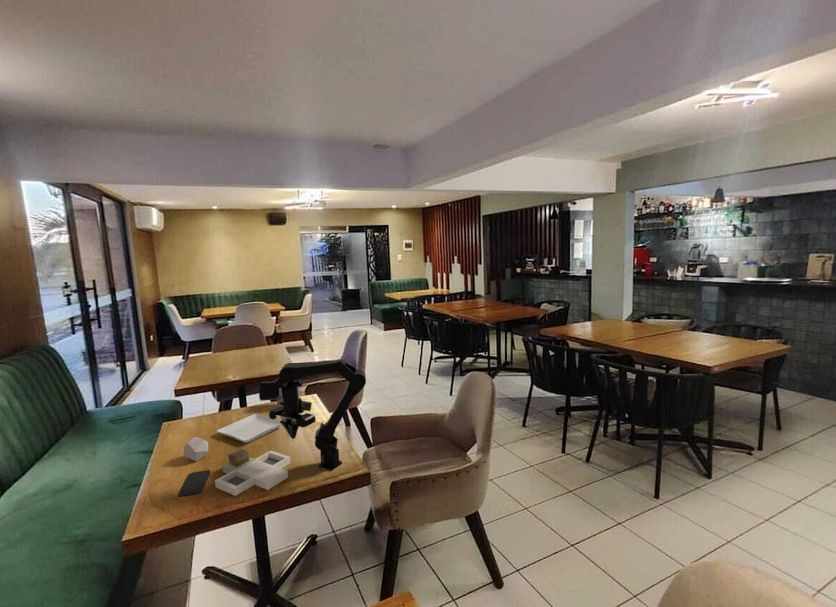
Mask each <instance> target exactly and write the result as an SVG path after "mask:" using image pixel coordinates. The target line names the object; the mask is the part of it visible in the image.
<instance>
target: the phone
mask: <svg viewBox="0 0 836 607" xmlns="http://www.w3.org/2000/svg"><path fill="white" fill-rule="evenodd" d="M210 474H211V470H210V469H206V470H199V471H193V472H190V473H188V475H187V476H186V479H185V480H184V483H183V484H182V486H181V488H180V490H179V492H178V494H177V496H178V497H179V498H182V497H189V496H194V495H199V494H201V493H202V492H203V490H204V488H205V486H206V483H207V480H208V479H209V477H210Z"/></svg>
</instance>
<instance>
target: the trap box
mask: <svg viewBox="0 0 836 607" xmlns="http://www.w3.org/2000/svg"><path fill="white" fill-rule="evenodd" d="M291 463H292V462H291V456H289V455H287V454H286V455H285V454H283V453H279V452H277V451H274V450H269V451H267V452H266V453H264V454H261V455H260V456H258V457H255V458H253V457H250V456H249V461H248V462H246V463H244V464H243V465H241V466H239V467H236V466H234V465H231V464H229V461H228V462H226V463H225V464H222V465H221V466H222V468H221V469H222V473H225V475H223V476H221V477H218V478H217V479H215V480H214V484H215V488H217V489H218V490H220V491H222V492H225V493H227V494H230V495H232V496H234V497H237V496H238V495H240V494H241V493H243V492H244V491H246V490H248V489H250V488H251V487H253V486H257V487H259V488H262V489H264V490H266V491H269V490H270V489H272V488H273V487H276V486H277V485H278V484H280V483H281V482H283V481H284V480H286V479H288V478H289V471H288V470H286V469H284V468H285V467H287V466H288V465H290V464H291Z"/></svg>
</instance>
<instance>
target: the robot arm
mask: <svg viewBox="0 0 836 607" xmlns="http://www.w3.org/2000/svg"><path fill="white" fill-rule="evenodd" d="M334 373H338V374H339V375H341V376H342V377H343V378H344V379H345V381H347V385H346V387H345V390H344V393H343V394H342V396H341V398H340V399H339V401H338V403H337V405H336V407H334V408H335V409H334V410H333V411H332V413H331V415H330V416H329V418H328V420H327V421H326V423H323V422H321V423H320V426H319V427H318V429H316V432H315V435H314V440H315V441H314V445H315V448H316V449H317V450H319V451H320V455H319V456H320V464H318V467H319V468H322V469H324V470H328V471H330V472H331V471H333V470H334V469H336V468H337V467H339V466H340V465H342V464H343V461H342V460H340V452H339V451H340V450H339V449H338V441H339V438H337V437H336V436H334V435H335V433H336V429H337V427H338V425H339V424H340V422H341V421H342V418H343V417H344V416H345V414H346V412H347V410H348V408H350V405H351V403H352V401H353V400H354V398H355V397H356V396H357V395H358V394H359V393H360V392H361V391H362V390H363V388H365V386H366V382H367V377H366V376H367V375H366V373H365V371H364V370H362V369H357V368H356V367H355V366H354V365H351V364H349V362H348V363H347V362H346V361H345V360H344V359H340V358H339V359H337V360H331V361H322V362H315V363H314V362H313V363H306V364H305V363H299V362H287V363H285V364H284V365H283V366H282V368H281V369H280V370H279V374H278V377H277V380H276V379H275V380H272V381H271V380H270V381H266V380H265V381H262V380H261V382H260V384H259V385H260V386H259V393H258V396H259V401H261V402H262V401H277V399H278V397H280V396H281V388H282V402H280V405H283V407H278V408H277V407H276V408H273V409H270V411H269V413H268V417H269V418H270V419H276V420H277V416H279V418H280V423H281V424H282V425H281V426H283V428H284V429H285V430H286V432H287V434H288V436H289V437H290V439H292V440H294V439H296V437H297V434H298V430H299V427H300V428H306V427H308V426H310V425H312V424H314V423H316V416H315V415H314V414H312V413H307V411H308V412H311V409H312V406H313V405H312V404H313V403H312V402H310V401H305V400H303V399H302V398H301V397H299V388H300V387H303V384H304V382H303V380H300V379H303V378H305V377H310V376H311V377H312V376H319V375H326V374H334ZM284 383H286V384H284ZM305 411H306V413H304V412H305ZM303 413H304V414H303Z"/></svg>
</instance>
